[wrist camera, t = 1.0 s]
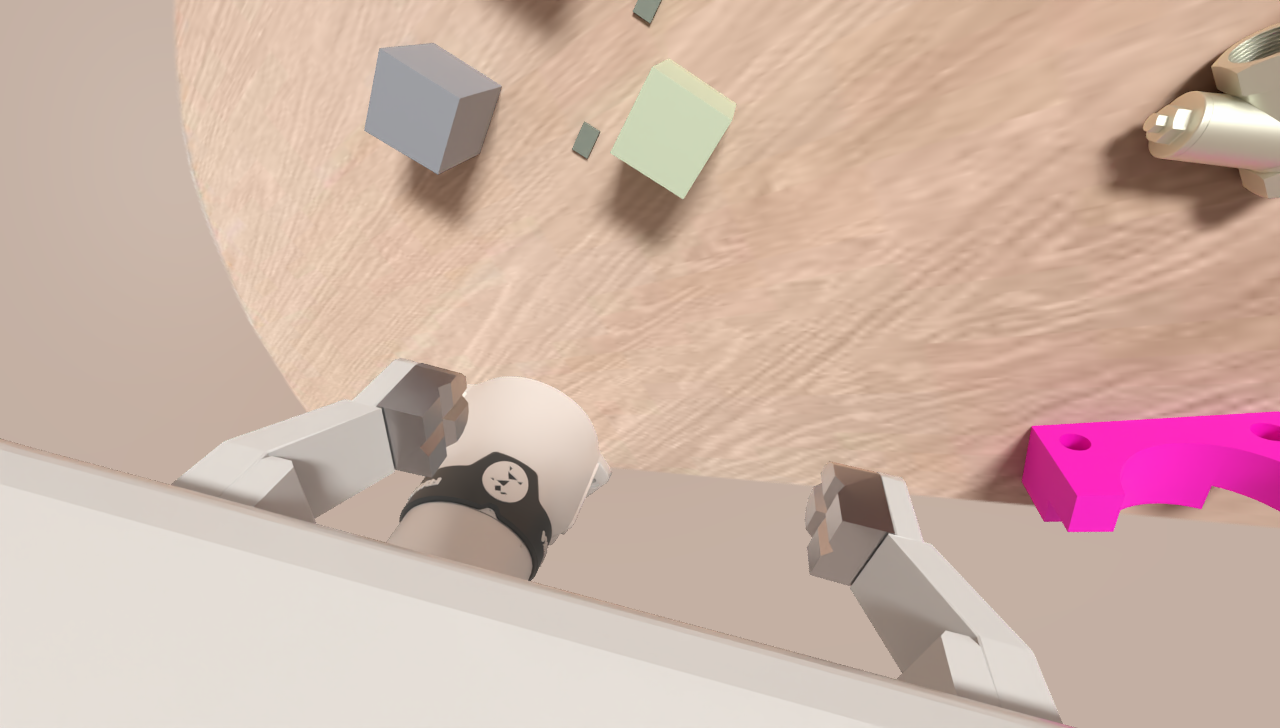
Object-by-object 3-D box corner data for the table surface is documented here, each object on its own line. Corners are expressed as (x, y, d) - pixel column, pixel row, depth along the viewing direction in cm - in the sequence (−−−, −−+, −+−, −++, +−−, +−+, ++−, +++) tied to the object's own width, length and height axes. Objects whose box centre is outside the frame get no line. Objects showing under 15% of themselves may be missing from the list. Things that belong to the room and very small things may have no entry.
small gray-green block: (587, 157, 36) (587, 158, 36) (572, 148, 36) (572, 149, 36) (600, 131, 35) (599, 132, 35) (584, 121, 35) (584, 122, 34)
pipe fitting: (1159, 121, 26) (1356, 18, 22) (1119, 104, 29) (1288, 11, 25) (1198, 242, 29) (1378, 167, 25) (1158, 215, 32) (1314, 145, 28)
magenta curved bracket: (1020, 479, 44) (1062, 554, 38) (1030, 424, 41) (1077, 495, 35) (1246, 472, 40) (1333, 554, 34) (1276, 409, 37) (1378, 488, 31)
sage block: (694, 173, 35) (683, 199, 30) (631, 133, 35) (610, 152, 30) (736, 104, 32) (732, 120, 28) (669, 58, 32) (652, 66, 27)
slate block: (480, 153, 37) (438, 174, 32) (416, 114, 37) (364, 130, 32) (502, 86, 34) (459, 98, 30) (434, 43, 34) (379, 48, 29)
